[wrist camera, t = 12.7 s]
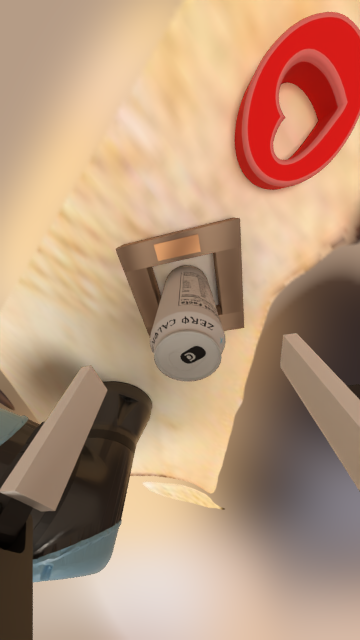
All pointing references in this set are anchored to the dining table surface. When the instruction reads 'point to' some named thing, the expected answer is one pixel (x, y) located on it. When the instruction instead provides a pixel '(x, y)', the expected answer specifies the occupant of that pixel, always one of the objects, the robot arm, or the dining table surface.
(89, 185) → the dining table surface
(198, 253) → the frame
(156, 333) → the energy drink can
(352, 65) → the decorative ornament
